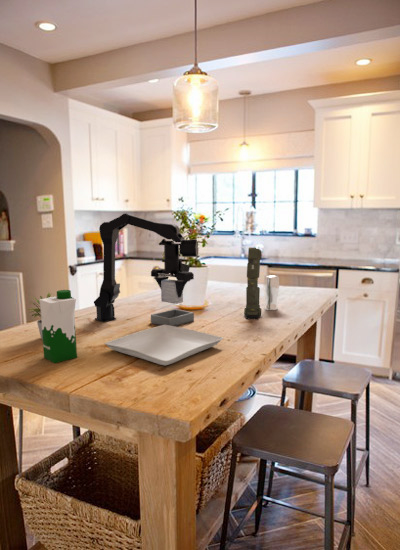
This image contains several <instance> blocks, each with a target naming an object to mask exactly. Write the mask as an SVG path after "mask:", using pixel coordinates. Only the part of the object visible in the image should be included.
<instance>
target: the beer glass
mask: <svg viewBox="0 0 400 550" xmlns="http://www.w3.org/2000/svg"><path fill="white" fill-rule="evenodd" d="M279 291H280V276H279V275H275V274H274V275H271V274H270V275H269V274H268V275H264V278H263V293H264V301H265V302H264V308H263V309H264V310H267V311H276V310H278V308H279V307H278V297H279Z"/></svg>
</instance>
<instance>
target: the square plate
mask: <svg viewBox="0 0 400 550" xmlns="http://www.w3.org/2000/svg"><path fill="white" fill-rule="evenodd" d="M222 340H224V337H222V336H218V335H214V334H211V333H206V332H204V331H203V332H202V331H198V330H195V329H190V328H184V327H180V326H169V325H161V326H159V325H156V326H155V327H151V328H146V329H144V330H140V331H137V332H133V333H130V334H127V335H124V336H121V337H118V338H115V339H112V340H108V341H106V342H104V345H106V346H107V347H108V348H109V349H111V350H113V351H115V352H118V353H121V354H125V355H128V356H132V357H136V358H139V359H142V360H145V361H148V362H151V363H154V364H157V365H160V366H169V365H172V364H174V363H176V362H179V361H181V360H183V359H185V358H188V357H191V356H193V355H195V354H198V353H201V352H202V351H205V350H209V349H210V348H212V347H215V346H216V345H218V344H219V343H220V342H221V341H222Z"/></svg>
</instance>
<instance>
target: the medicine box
mask: <svg viewBox="0 0 400 550" xmlns="http://www.w3.org/2000/svg"><path fill="white" fill-rule="evenodd" d="M176 280H177V279H169V278H168V279H166V280H162V281H161V289H160V291H161V293H160V294H161V295H160V299H161V300H160V301H161V302H163V303H170V304H174V305H178V304H181V303H183V302H184V293H183V292H184V291H183V292H182V295H181V297H178V295H177V290H176V284H175V281H176Z"/></svg>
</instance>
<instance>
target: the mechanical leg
mask: <svg viewBox="0 0 400 550" xmlns="http://www.w3.org/2000/svg"><path fill="white" fill-rule="evenodd" d="M247 253H248V254H247V265H246V266H247V267H246V279H247V280H246V281H247V286H246V288H245V289H246V291H245V292H246V293H245V294H246V298H245V300H246V301H245V302H246V304H245V307H244V308H243V309H244V310H243V311H244V312H243V316H245V319H246V320H259V318H260V317H262V308H261V305H260V292H261V291H260V290H261V289H260V287H259V285H258V284H259V283H258V282H259V281H258V280H259V278H260V272H261V271H260V270H261V269H260V268H261V260H262V250H261V249H260V248H257V247H248V252H247Z"/></svg>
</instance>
